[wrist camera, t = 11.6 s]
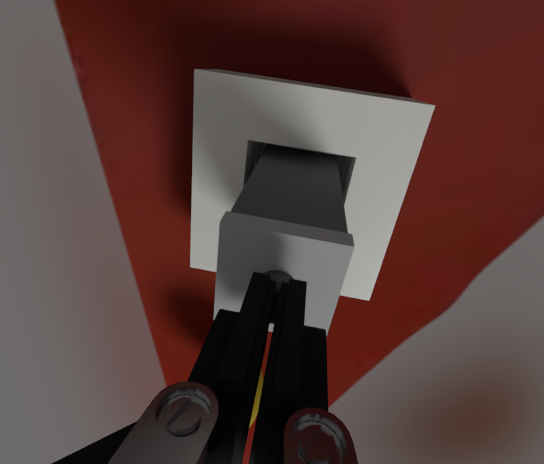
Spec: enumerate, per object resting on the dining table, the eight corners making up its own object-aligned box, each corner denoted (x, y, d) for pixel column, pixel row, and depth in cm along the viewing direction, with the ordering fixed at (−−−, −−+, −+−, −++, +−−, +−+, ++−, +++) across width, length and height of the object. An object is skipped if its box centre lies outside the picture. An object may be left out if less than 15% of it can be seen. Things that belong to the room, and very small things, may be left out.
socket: (218, 69, 19) (194, 68, 15) (412, 98, 18) (435, 105, 15) (209, 237, 24) (190, 267, 20) (361, 265, 23) (369, 300, 20)
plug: (266, 142, 19) (210, 238, 9) (338, 154, 19) (357, 265, 9) (257, 207, 21) (205, 340, 11) (322, 219, 21) (325, 364, 11)
